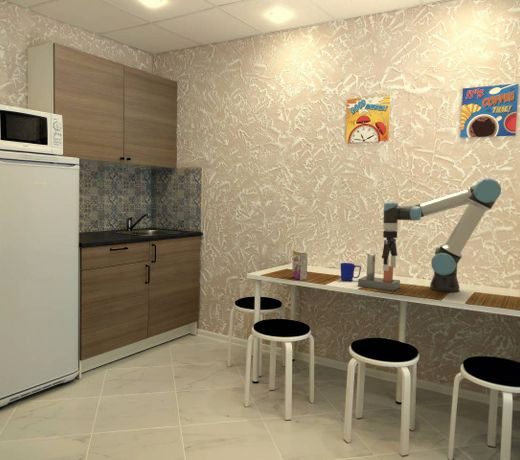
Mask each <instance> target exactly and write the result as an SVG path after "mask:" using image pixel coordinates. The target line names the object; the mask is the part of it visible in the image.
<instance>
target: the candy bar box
mask: <svg viewBox="0 0 520 460" xmlns="http://www.w3.org/2000/svg"><path fill="white" fill-rule="evenodd" d="M291 262H292V264H291V267H292V269H291V271H292V274H291V276H292V278H294V279H297V280H299V281H307V279H308V252H305V251H302V250H292V261H291Z"/></svg>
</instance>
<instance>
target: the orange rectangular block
mask: <svg viewBox="0 0 520 460" xmlns="http://www.w3.org/2000/svg"><path fill="white" fill-rule="evenodd" d="M382 276H383V277H382V278H383V281H386V282H393V280H394V278H393V276H394V268H393V266H390V265H389V271H385V270H383V275H382Z"/></svg>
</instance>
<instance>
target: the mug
mask: <svg viewBox="0 0 520 460" xmlns="http://www.w3.org/2000/svg"><path fill="white" fill-rule="evenodd" d="M355 268H359V271H358V275H357V276H354V275H355ZM361 268H362V266H361V265H355V263H351V262H341V263H340V279H341V280H342V281H345V282H351V281H353V279H359V277H360V275H361V271H362V269H361Z"/></svg>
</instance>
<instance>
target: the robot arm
mask: <svg viewBox="0 0 520 460" xmlns="http://www.w3.org/2000/svg"><path fill="white" fill-rule="evenodd" d="M501 187H502V186H501V185H500V183H499V182H498V181H497V180H495V179H492V178H483V179H480V180H479V181H477V183H476V184H475V185H472V186H469V187H468V188H467V189H465V190H461V191H459V192H455V193H451V194H447V195H444V196H442V197H439V198H435V199H432V200H428V201H424V202H421V203H419V204H415V205H412V206H409V205H407V206H401V205H400V206H399V203H398V202H385V203H384V205H383V224H382V226H383V229H382V230H383V231H382V232H383V233H382V238H384V240H383V241H384V242H383V243H384V244H383V248H382V255H381V259H383V262H382V265H383V267H382V271H384V270H385V271H389V266H393V269H394V268H396V266H397V265H396V262H397V261H396V260H397V258H396V257H398V249H397V240H396V239H397V238H398V226H399V223H398V221H412V222H413V221H420V220H421V219H422V218H423V217H427V216H431V215H435V214H437V213H441V212H445V211H448V210H452V209H455V208H460V207H463V206H466V205H467V207H466V208H465V210H464V212H463V213H462V215H461V216H460V218H459V220H458V222H457V224H456V225H455V227H454V229H453V230H452V232H451V234H450V235H449V236H448V239H447V241H446V242H445V243H444V244H440V246H439V247H436V248H435V251H434V256H433V257H432V259H431V264H430V265H431V269H432V270H433V277H432V279H431V281H430V284H429V289H431V290H434V291H437V292H444V293H457V292H460V284H459V280H458V277H457V276H458V275H457V274H458V263H459V262H460V260H461V259H462V258H463V254H462V251H463V249H464V248H465V247H466V245H467V243H468V241H469V240H470V238H471V237H472V234H473V233H474V231H475V230H476V228H477V227H478V224H479V223H480V222H481V220H482V219H483V216H484V215H485V213H486V212H487V211H490V210H492V208H493V206H494V205H495V203H496V201H497V199H499V197H500V196H501V193H502V188H501ZM389 256H390V257H389ZM389 263H390V265H389Z"/></svg>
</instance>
